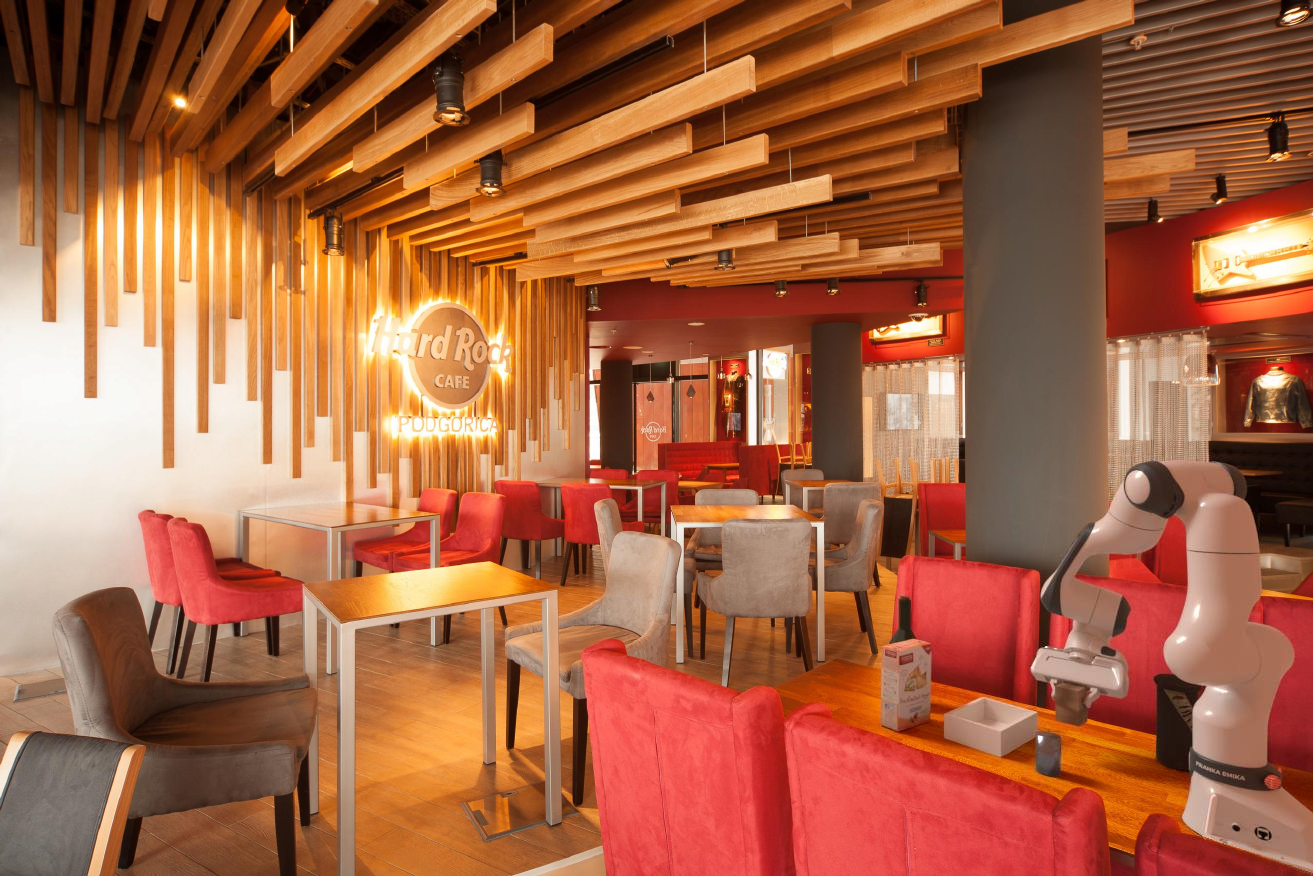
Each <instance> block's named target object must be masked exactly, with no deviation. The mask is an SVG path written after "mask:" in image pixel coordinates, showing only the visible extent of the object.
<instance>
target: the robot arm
mask: <svg viewBox="0 0 1313 876" xmlns="http://www.w3.org/2000/svg"><path fill="white" fill-rule="evenodd" d="M1247 485H1248V484H1247V480H1246V478H1245V476H1244V475H1243V473H1242V472H1241V471H1240V470H1239V469H1238V468H1237V467H1235V466H1233V465H1231V464H1228V463H1225V462H1221V461H1220V462H1219V461H1200V460H1199V461H1198V460H1187V459H1170V460H1159V461H1157V460H1150V461H1144V462H1141V463H1137V464H1135V465H1133V466H1130V468H1129V469H1128V470H1127V472H1126V474H1125V476H1124V480H1123V481H1121V483H1120V484H1119V487H1118V489H1117V490H1116V492H1115V494H1114V496H1113V499H1112V501H1111V503H1110V505H1109V508H1108V510H1107V512H1106V514H1105V515H1104V516H1103V517H1102V518H1100V519H1099V520H1098V521H1095V522H1088V523H1087V524H1086V525H1085V526H1083V528H1081V530H1080V531H1079V533H1078V534H1077V536H1076V538H1074V540H1073V542H1072V543H1071V545H1070V546H1069V548H1068V550H1067V551H1066V553H1065V554H1064V556H1063V557H1062V558H1061V561H1060V562H1059V564H1058V565H1057V567H1056V568H1055V570H1054V572H1053V573H1052V574H1051V575H1050V576H1049V578H1047V579H1046V580H1045V582H1044V584H1043V586H1042V588H1041V592H1040V602H1041V604H1042V605H1043V607H1044V608H1045V609H1046V611H1047V612H1049V613H1050V614H1054V615H1057V616H1061V617H1066V618H1068V619H1070V620H1073V621H1072V629H1071V630H1070V632H1069V633H1068V636H1067V639H1066V642H1065V644H1064V645H1065V646H1064V648H1059V647H1052V646H1050V645H1046V646H1045V647H1040V648H1039V649H1038V650H1037V651H1036V657H1035V658H1034V661H1033V662H1032V664H1031V667H1030V672H1031V674H1032V676H1033V677H1034V678H1035V680H1037V681H1039V682H1044V683H1049V684H1050V686H1051V689H1052V692H1051V695H1050V696H1051V699H1052V700H1054V701H1055V686H1056V685H1058V684H1060V683H1062V682H1066V683H1071V684H1075V685H1080V686H1085V687H1087V692H1090V693H1089V694H1087V697H1082V700H1081V705H1082V706H1083V707H1087V709H1090V708H1091V706H1092V703H1094V702H1095V701H1096V700H1098V699H1099V698H1100V696H1101V695H1102V696H1107V697H1112V698H1116V699H1119V700H1120V699H1123V698H1126V697H1127V696H1128V693H1129V686H1130V678H1129V675H1128V672H1129V669H1130V668H1129V664H1128V662H1127V659H1126V658H1125V656H1124V653H1122V652H1121V651H1120V650H1118V649H1117V648H1116V649H1115V648H1113V647H1111V646H1110V641H1111V640H1112V639H1113V638H1115V637H1117V636H1120V635H1122V634H1123V633H1124V632H1125V631H1126V629H1127V623H1128V617H1129V616H1130V614H1131V610H1132V607H1131V605H1130V603H1129V601H1128V599H1127V598H1126V597H1125V596H1124V595H1122V594H1121V593H1118V592H1116V591H1113V590H1111V589H1108V588H1105V587H1102V586H1101V587H1100V586H1097V585H1095V584H1093V583H1089V582H1086V581H1084V580H1080V579H1079V578H1076V577H1075V576H1076V574H1077V573H1078V572H1079V570H1080V568H1081V567H1082V565H1083V563H1084V562H1085V561H1086V560H1087V559H1088V558H1089V557H1091V556H1096V555H1105V554H1107V555H1108V554H1109V555H1110V554H1114V555H1135V554H1142V553H1145V552H1147V551H1149V550H1150V549H1153V548H1154V547H1155V546H1156V545H1157V544H1158V543H1159V541H1160V539H1161V538H1162V535H1163V533H1164V531H1165V529H1166V526H1167V524H1168V522H1169V519H1170V518H1171V517H1173V516H1175V517H1177V518H1179V520H1180V521H1182V523H1183V525H1184V527H1185V540H1186V542H1185V543H1186V562H1187V563H1186V566H1187V590H1186V591H1187V592H1186V598H1185V602H1184V606H1183V609H1182V612H1181V616H1180V617H1179V618H1180V619H1179V621H1178V623H1177V626H1176V628H1175V629H1174V630H1173V632H1172V633H1170V635H1169V636H1168V637H1167V638H1166V640H1165V642H1164V645H1163V651H1162V652H1163V657H1164V661H1165V663H1166V665H1167V667H1168V668H1169V670H1170V671H1171V672H1172V674H1175V675H1176V676H1177V677H1178V678H1180V679H1181V680H1183V681H1185V682H1188V683H1192V684H1197V685H1201V686H1203V687H1204V686H1205V688H1204V691H1203V693H1202V694H1201V696H1200V697H1198V700H1197V702H1196V703H1195V705H1194V707H1193V745H1192V747H1190V752H1189V770H1190V771H1189V776H1190V785H1189V791H1188V792H1189V793H1188V798H1187V802H1186V805H1185V808H1184V811H1183V813H1182V816H1181V817H1182V821H1183V823H1185V825H1186V826H1187V827H1188V828H1190V829H1191V830H1192V831H1194V832H1196V833H1198V834H1199V835H1201V836H1202V837H1203V838H1204V837H1206V838H1209V839H1212V840H1214V841H1217V842H1220V843H1224V844H1227V845H1230V846H1233V847H1236V848H1240V849H1242V850H1246V851H1249V852H1252V853H1255V854H1259V855H1261V856H1262V857H1266V858H1269V859H1273V860H1276V861H1279V862H1281V863H1284V864H1287V865H1291V866H1293V867H1296V868H1299V869H1302V870H1305V871H1308V872H1311V873H1313V811H1311V810H1310V809H1309V808H1307V807H1306V806H1305V805H1303V804H1302V803H1301V802H1300V801H1299V800H1297V799H1296V798H1295V797H1294V796H1293V795H1292V794H1290V793H1289V792H1288V791H1287V790H1286V789H1284V788H1283V787H1282V782H1283V777H1282V775H1283V774H1282V771H1283V770H1282V768H1281V766H1280V767H1278V768H1275V766H1273V765H1272V764H1271V763H1270V762H1269V761H1268V726H1269V725H1268V724H1269V718H1270V715H1271V714H1270V713H1271V710H1272V706H1273V703H1274V700H1275V697H1276V694H1277V691H1278V688H1279V686H1280V683H1281V681H1282V679H1283V677H1284V676H1285V674H1286V673H1287V672H1288V670H1290V668H1291V667H1292V666H1293V664H1294V662H1295V655H1296V654H1295V650H1294V646H1293V644H1292V642H1291V640H1290V639H1289V638H1288V637H1287V636H1286V635H1285V634H1284V633H1283V632H1282V631H1281V630H1279V629H1278V628H1275V627H1273V626H1271V625H1269V624H1268V625H1267V624H1263V623H1259V622H1253V621H1252V622H1251V621H1249V619H1250V615H1251V613H1252V610H1253V608H1254V606H1255V604H1257V602H1258V601H1259V600H1260V599H1261V596H1262V594H1263V586H1262V585H1263V584H1262V570H1261V552H1260V543H1259V541H1260V540H1259V537H1258V531H1257V526H1256V522H1255V518H1254V514H1253V512H1252V509H1251V506H1250V505H1249V504H1248V502H1247V501H1246V500H1245V499H1246V497H1247V493H1248V486H1247Z"/></svg>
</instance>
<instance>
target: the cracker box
mask: <svg viewBox="0 0 1313 876" xmlns="http://www.w3.org/2000/svg"><path fill="white" fill-rule="evenodd" d="M932 647H933V646H932V643H931V642H927V641H925V640H920V639H918V638H917V639H911V640H906V641H902V642H898V643H893V644H885V645H882V646H881V683H880V685H881V691H880V692H881V693H880V695H881V697H880V700H881V701H880V725H881V726H883V727H885V728H888V729H889V730H893V731H895V732H898V733H899V732H902V731H904V730H909V729H910V728H913V727H916V726H920V725H923V724H924V723H928V722H930V721H931V698H932V697H931V695H932V694H931V689H932Z"/></svg>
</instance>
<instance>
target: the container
mask: <svg viewBox="0 0 1313 876" xmlns="http://www.w3.org/2000/svg"><path fill="white" fill-rule="evenodd" d="M1152 679H1153V682H1154V683H1155V685H1156V717H1155V718H1156V721H1155V722H1156V725H1155V727H1156V728H1155V729H1156V733H1155V758H1156V761H1157V762H1159V764H1161V765H1164V766H1165V767H1168V768H1171V769H1174V770H1179V771H1185V772H1190V770H1189V752H1190V747H1192V745H1193V707H1194V705H1195V703H1196V702H1197V700H1198V699H1199V693H1200V691H1201V690H1202V688H1203V687H1202V685H1197V684H1192V683H1188V682H1185V681H1183V680H1181V679H1180V678H1178V677H1177V676H1176V675H1175V674H1174V673H1157V674H1155V675H1153V678H1152Z"/></svg>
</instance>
